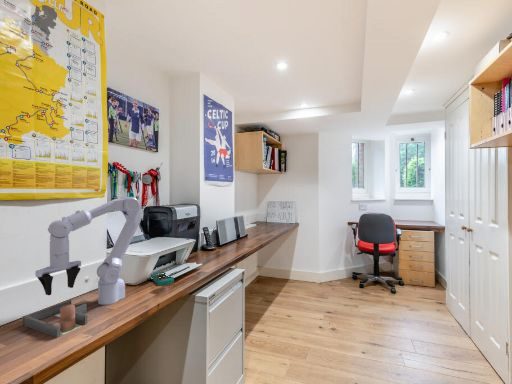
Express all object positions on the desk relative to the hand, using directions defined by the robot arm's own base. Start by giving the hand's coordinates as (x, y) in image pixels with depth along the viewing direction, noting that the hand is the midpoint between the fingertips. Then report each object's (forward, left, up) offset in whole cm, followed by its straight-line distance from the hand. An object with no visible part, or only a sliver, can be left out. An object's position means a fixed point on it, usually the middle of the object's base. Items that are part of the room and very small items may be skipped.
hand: (59, 290), depth 100 cm
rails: (+3, +7, -8) cm, 11 cm away
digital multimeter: (-45, +6, -10) cm, 47 cm away
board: (+3, +8, -9) cm, 13 cm away
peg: (+6, +14, -8) cm, 17 cm away
